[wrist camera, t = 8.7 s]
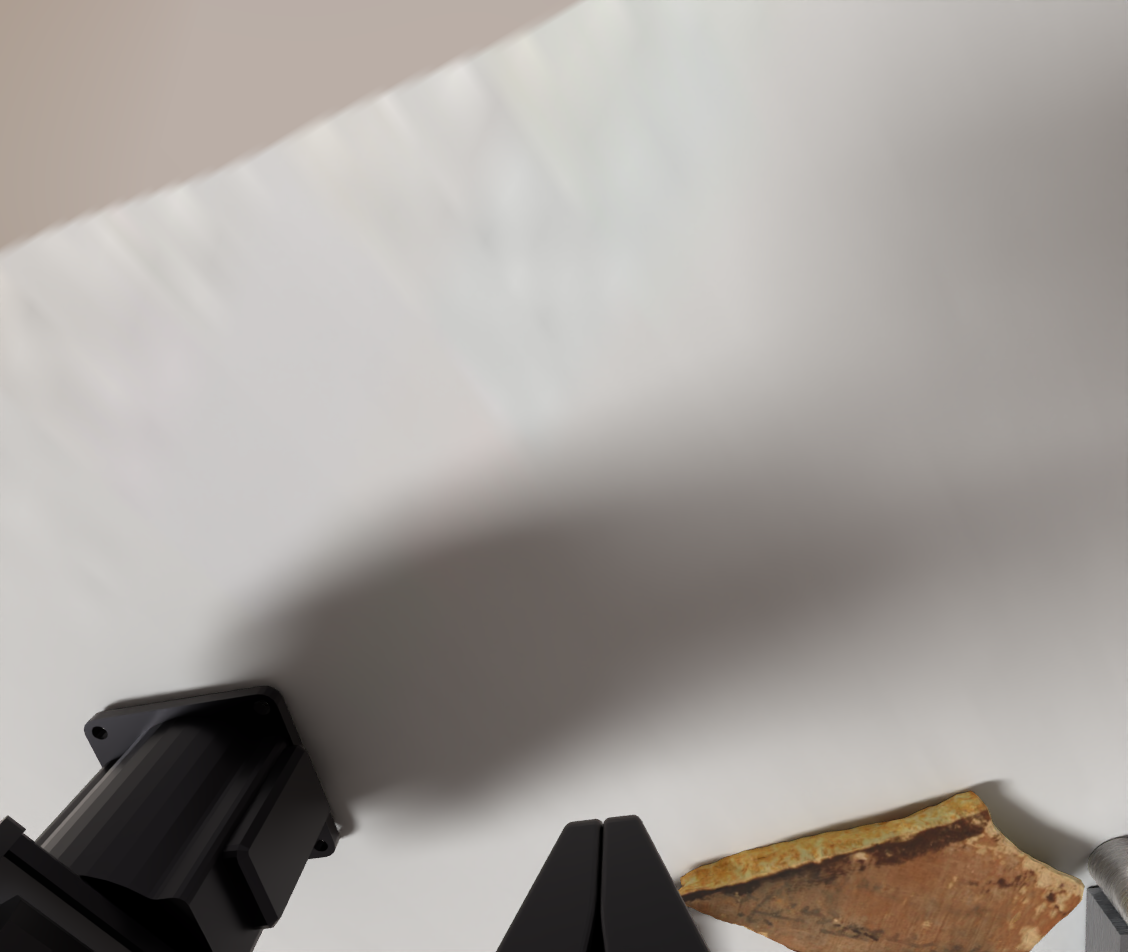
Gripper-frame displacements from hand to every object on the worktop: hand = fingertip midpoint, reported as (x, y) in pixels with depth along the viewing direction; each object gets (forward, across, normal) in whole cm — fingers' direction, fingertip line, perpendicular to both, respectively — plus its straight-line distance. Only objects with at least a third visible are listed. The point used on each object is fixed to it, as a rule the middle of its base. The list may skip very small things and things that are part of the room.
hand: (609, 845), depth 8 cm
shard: (+13, -6, +16) cm, 22 cm away
